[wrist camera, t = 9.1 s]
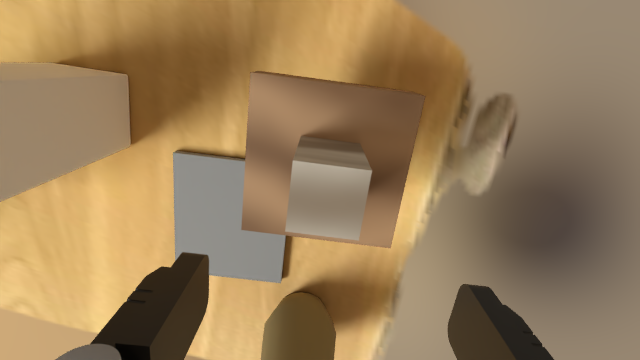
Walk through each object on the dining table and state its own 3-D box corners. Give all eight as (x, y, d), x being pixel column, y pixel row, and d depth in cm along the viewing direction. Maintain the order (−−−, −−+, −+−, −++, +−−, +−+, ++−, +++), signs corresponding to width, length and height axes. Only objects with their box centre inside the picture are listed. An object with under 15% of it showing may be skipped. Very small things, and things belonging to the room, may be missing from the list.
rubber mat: (176, 150, 34) (173, 152, 33) (293, 165, 34) (292, 167, 34) (178, 267, 39) (175, 271, 38) (281, 278, 39) (280, 283, 38)
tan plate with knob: (260, 71, 24) (222, 75, 15) (411, 91, 25) (461, 107, 16) (251, 210, 28) (216, 279, 19) (382, 226, 28) (409, 302, 19)
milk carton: (129, 74, 32) (-126, 87, 14) (132, 146, 34) (-84, 238, 16) (53, 62, 31) (-309, 60, 13) (61, 136, 34) (-238, 217, 16)
